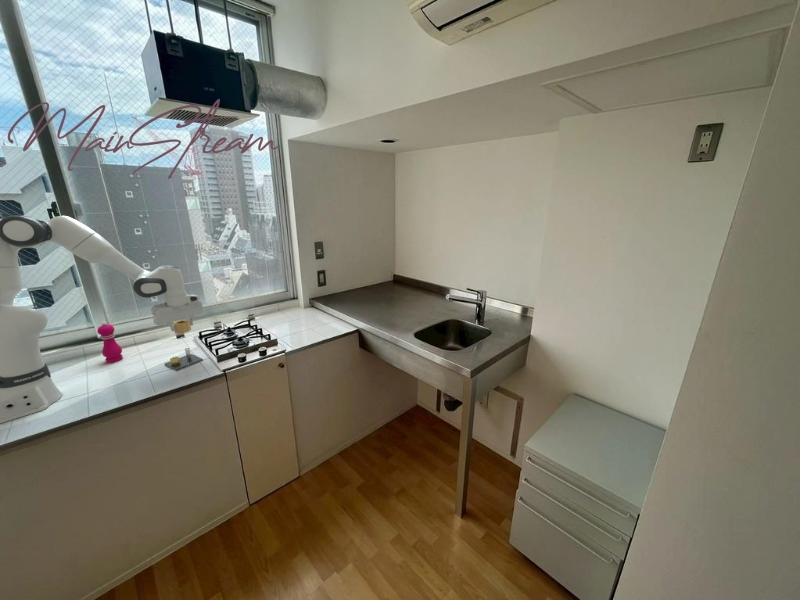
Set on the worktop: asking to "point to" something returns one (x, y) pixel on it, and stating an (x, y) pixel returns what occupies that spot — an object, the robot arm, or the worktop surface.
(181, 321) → the planet gear
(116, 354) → the pepper mill
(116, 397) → the worktop surface
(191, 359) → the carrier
